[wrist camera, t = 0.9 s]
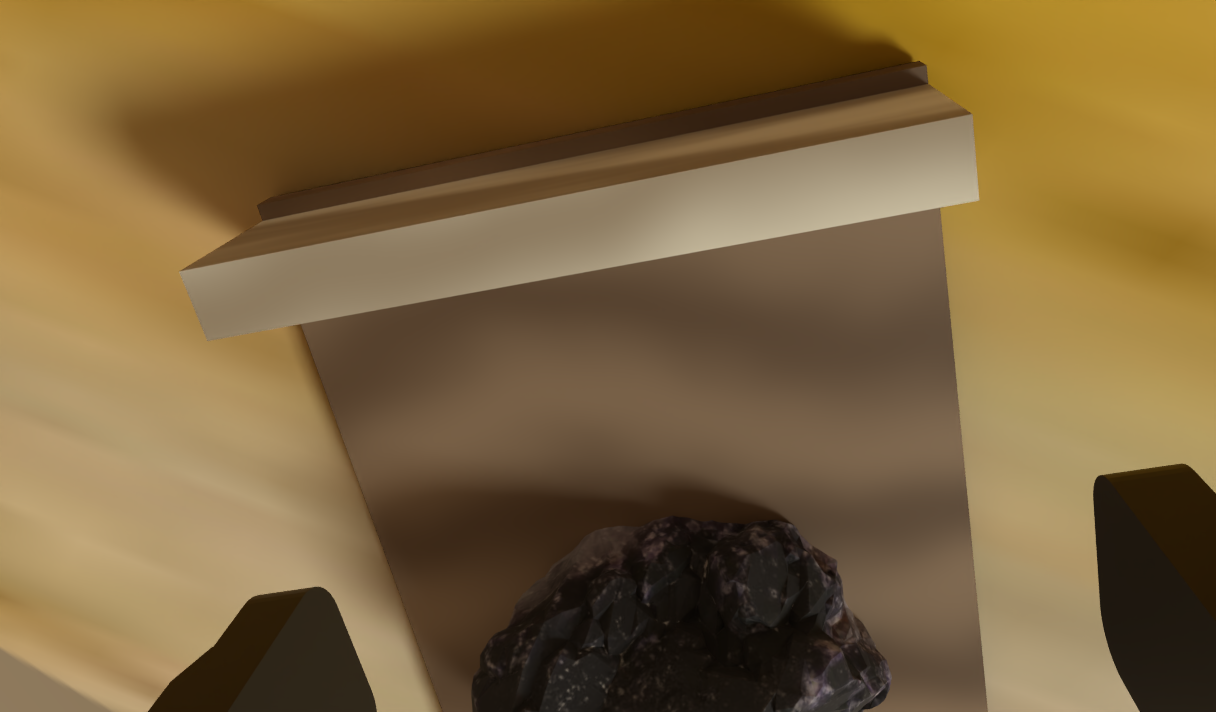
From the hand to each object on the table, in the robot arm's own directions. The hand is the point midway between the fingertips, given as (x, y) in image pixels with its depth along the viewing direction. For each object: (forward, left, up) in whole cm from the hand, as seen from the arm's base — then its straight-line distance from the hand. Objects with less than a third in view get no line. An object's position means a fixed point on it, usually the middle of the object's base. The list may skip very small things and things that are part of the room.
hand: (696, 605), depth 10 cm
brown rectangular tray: (+11, -4, -20) cm, 23 cm away
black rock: (+17, -4, -21) cm, 27 cm away
